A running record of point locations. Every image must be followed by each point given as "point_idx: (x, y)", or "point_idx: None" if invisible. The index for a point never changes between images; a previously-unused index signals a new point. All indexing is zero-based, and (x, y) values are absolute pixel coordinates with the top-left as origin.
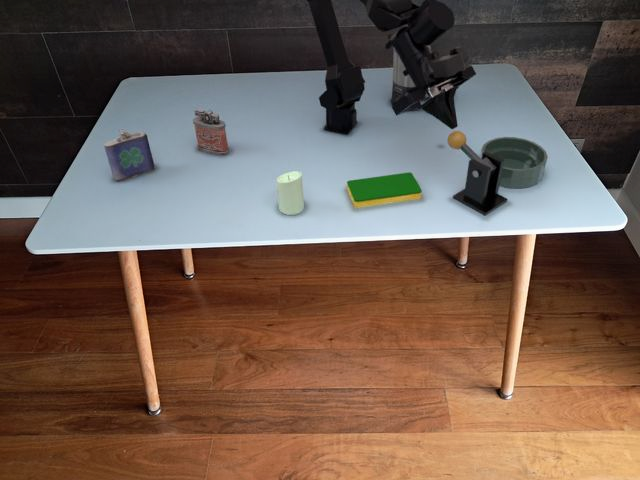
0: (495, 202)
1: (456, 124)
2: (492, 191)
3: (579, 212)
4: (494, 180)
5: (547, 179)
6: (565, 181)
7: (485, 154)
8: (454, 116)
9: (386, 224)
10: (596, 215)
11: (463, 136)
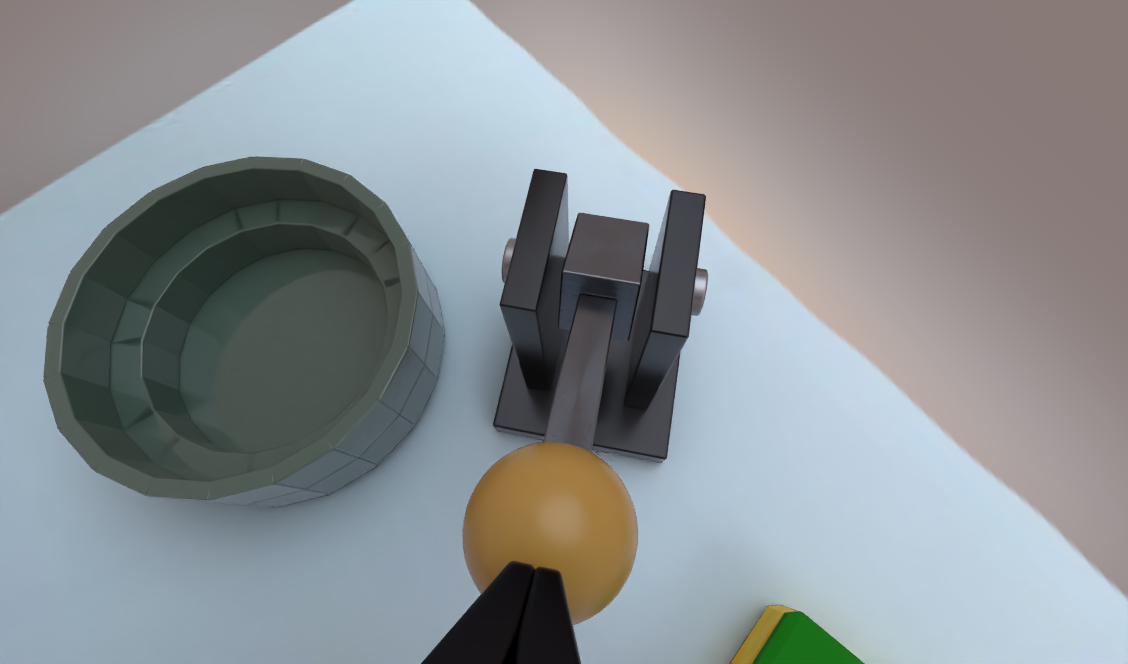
0: None
1: (522, 574)
2: None
3: (436, 62)
4: None
5: None
6: None
7: (542, 286)
8: (474, 656)
9: (1066, 637)
10: (423, 23)
11: (551, 459)
